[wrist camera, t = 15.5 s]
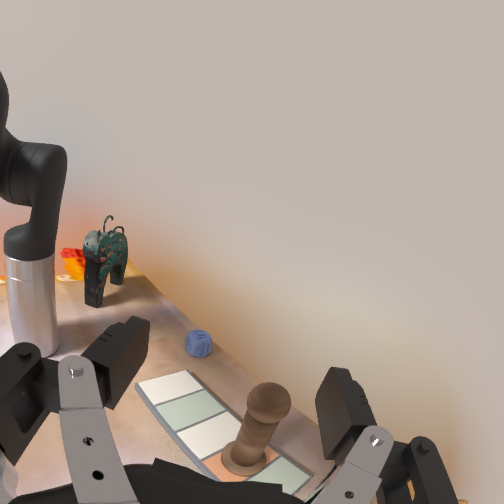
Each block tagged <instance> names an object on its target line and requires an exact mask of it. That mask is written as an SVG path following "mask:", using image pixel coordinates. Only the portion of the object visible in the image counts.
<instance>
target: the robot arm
mask: <svg viewBox="0 0 504 504" xmlns="http://www.w3.org/2000/svg"><path fill="white" fill-rule="evenodd" d="M8 107H9V94H8V88H7V85H6V83H5V80H4V78H3V76H2V74H1V72H0V197H1V198H3V199H4V200H6V201H7V202H10V203H13V204H17V205H23V206H30V207H32V211H31V216H30V220H29V222H28V223H26V224H23V225H19V226H15V227H13V228H11V229H9V230H8V231H7V232H6V233H5V235H4V267H5V280H6V290H7V299H8V306H9V313H10V319H11V325H12V331H13V336H14V340H15V345H14V346H12V347H11V348H10V349H9V350H8V351H7V352H6V353H5V354H3V355H2V356H1V357H0V504H370V502H371V500H372V499H373V497H374V495H375V493H376V496H377V502H378V504H459V503H458V500H457V498H456V495H455V492H454V490H453V487H452V484H451V482H450V479H449V477H448V474H447V471H446V469H445V467H444V464H443V462H442V459H441V457H440V455H439V453H438V450H437V448H436V446H435V444H434V443H433V442H432V441H431V440H430V439H428V438H426V437H422V436H418V437H415V438H413V440H412V441H411V442H410V443H409V444H406V443H402V442H397V441H394V440H393V437H392V435H391V434H390V433H389V432H388V431H387V430H386V429H384V428H382V427H380V426H377V423H376V421H375V418H374V416H373V413H372V410H371V408H370V405H368V401H367V398H366V395H365V393H364V390H363V388H362V387H361V386H360V385H359V384H358V383H357V382H356V381H354V380H352V377H351V375H350V372H349V370H348V369H345V368H338V367H331V368H330V369H329V371H328V372H327V374H326V376H325V379H324V380H323V382H322V384H321V386H320V388H319V390H318V392H317V394H316V398H315V405H316V411H317V417H318V422H319V428H320V434H321V440H322V446H323V452H324V458H325V460H335V465H334V466H333V467H332V468H331V469H330V471H329V472H328V473H327V475H326V476H325V477H324V478H323V480H322V481H321V482H320V483H319V485H318V486H317V487H316V488H315V489H314V491H313V492H312V493H311V494H310V495H309V496H308V497H307V498H306V499H305V500H304V501H302V500H300V499H299V498H297V497H295V496H293V495H290V494H288V493H285V492H283V488H282V484H276V483H266V482H258V481H237V482H219V481H215V480H213V479H210V478H208V477H206V476H204V475H202V474H199V473H197V472H195V471H193V470H191V469H189V468H187V467H184V466H180V465H177V464H173V463H170V462H167V461H164V460H161V459H158V458H155V460H154V463H153V465H151V464H129V465H122V462H121V460H120V457H119V454H118V451H117V448H116V445H115V442H114V439H113V436H112V433H111V430H110V427H109V423H108V420H107V416H106V413H105V409H104V407H107V408H109V409H112V410H114V408H115V406H116V405H117V403H118V402H119V400H120V398H121V397H122V395H123V394H124V392H125V391H126V389H127V387H128V386H129V384H130V383H131V381H132V380H133V378H134V377H135V375H136V373H137V372H138V370H139V369H140V367H141V366H142V364H143V363H144V361H145V359H146V356H147V352H148V342H149V329H150V322H149V321H148V320H145V319H142V318H139V317H136V316H132V317H131V318H130V319H129V320H128V321H127V322H126V323H125V324H123V323H121V322H119V323H116V324H114V325H111V326H109V327H108V328H107V329H106V330H105V331H104V333H102V334H101V335H100V336H99V338H97V339H96V340H95V341H94V342H93V343H92V344H91V345H90V346H89V347H88V348H87V349H86V350H85V351H84V352H83V353H82V354H81V355H80V356H78V355H71V356H67V357H65V358H63V359H62V360H61V361H60V362H59V361H54V360H50V359H47V358H45V357H48V356H50V355H52V354H53V353H54V352H56V350H57V349H58V347H59V336H58V327H57V316H56V302H55V270H54V259H55V240H56V235H57V229H58V221H59V212H60V205H61V199H62V194H63V189H64V184H65V178H66V172H67V155H66V151H65V149H64V148H63V147H61V146H59V145H53V144H44V143H30V142H22V141H19V140H17V139H16V138H15V137H13V136H12V135H11V134H10V133H9V131H8V130H7V129H6V128H5V125H6V121H7V115H8ZM50 412H54V413H58V414H59V417H60V425H61V432H62V438H63V444H64V449H65V454H66V459H67V463H68V468H69V472H70V476H71V479H72V483H70V484H67V485H63V486H60V487H56V488H52V489H48V490H44V491H40V492H35V493H31V494H26V495H21V496H18V497H17V495H16V488H17V483H18V474H17V471H16V469H15V467H14V466H15V465H16V463H17V461H18V460H19V458H20V457H21V455H22V454H23V452H24V450H25V449H26V447H27V446H28V444H29V443H30V441H31V440H32V438H33V437H34V435H35V434H36V432H37V431H38V429H39V428H40V426H41V425H42V423H43V422H44V421H45V419H46V418H47V416H48V415H49V413H50ZM410 480H411V481H412V484H413V488H414V491H415V497H414V500H413V501H412V499H411V495H410V491H409V488H408V484H407V483H408V482H409V481H410Z"/></svg>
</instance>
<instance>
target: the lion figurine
mask: <svg viewBox="0 0 504 504" xmlns="http://www.w3.org/2000/svg"><path fill="white" fill-rule="evenodd" d="M458 503H459V504H467V503H468V501H465V500H458Z"/></svg>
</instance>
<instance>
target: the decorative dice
mask: <svg viewBox="0 0 504 504" xmlns="http://www.w3.org/2000/svg"><path fill="white" fill-rule="evenodd" d="M185 343H186V349H187V352H188V353H189V354H190V355H192V356H194V357H204V356H206V355H208V354H209V353H210V351H211V349H212V340H211V337H210V335H209V334H208V333H207V332H205V331H203V330H193V331H191V332H189V333H188V334H187V336H186V340H185Z"/></svg>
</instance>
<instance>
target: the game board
mask: <svg viewBox="0 0 504 504" xmlns="http://www.w3.org/2000/svg"><path fill="white" fill-rule="evenodd" d="M135 389H136V391H137V392H138V394H139V395H140V397H141V398H142V400H143V401H144V402H145V404H146V405H147V407H148V408H149V409H150V411H151V412H152V414H153V415H154V416H155V418H156V419H157V420H158V421H159V423H160V424H161V425H162V427H163V428H164V429H165V430H166V432H167V433H168V434H169V435H170V437H171V438H172V439H173V440H174V441H175V443H176V444H177V445H178V446H179V447H180V448H181V450H182V451H183V452H184V453H185V454H186V455H187V456H188V457H189V459H190V460H191V461H192V462H193V463H194V464H195V465H196V466H197V467H198V468H199V469H200V470H201V471H202V472H203V473H204V474H205V475H206V476H207V477H208V478H210V479H213V480H215V481H219V482H237V481H258V482H266V483H276V484H282V488H283V492H285V493H288V494H290V495H294V494H295V493H296V492H297V491H298V490H299V489H300V488H302V487H303V486H304V485H305V484H306V483H307V482H308V481H309V480H310V479H311V478H312V477H313V476H312V475H311V474H309V473H308V472H306V471H305V470H303V469H302V468H300V467H299V466H298V465H296V464H295V463H293V462H292V461H291V460H289V459H288V458H286V457H285V456H284V455H282V454H281V453H280V452H278V451H277V450H276V449H275V448H273V447H272V446H271V445H269V444H267V446H266V448H265V450H264V452H265V454H266V457H267V461H266V464H265V466H264V467H263V469H262V470H261V471H260V472H259V473H258V474H256V475H253V476H249V477H243V476H238V475H235V474H233V473H231V472H229V471H228V470H227V469H226V468H225V467H224V466H223V464H222V462H221V454H222V451H223V448H224V447H225V445H227V444H228V443H229V442H232V441H235V440H236V437H237V435H238V432H239V430H240V427H241V425H242V421H241V420H239V419H238V418H237V417H236V416H235V415H234V414H233V413H232V412H230V411H229V410H228V409H227V408H226V407H225V406H224V405H223V404H222V403H221V402H220V401H218V400H217V399H216V398H215V397H214V396H213V395H212V394H211V393H210V392H209V391H208V390H207V389H206V388H205V387H204V386H203V385H202V384H201V383H200V382H199V381H198V380H197V379H196V378H195V377H194V376H193V375H192V374H191V373H190V372H189V371H188V370H184V371H180V372H177V373H173V374H169V375H166V376H162V377H158V378H154V379H151V380H147V381H143V382H138V383H135Z"/></svg>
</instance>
